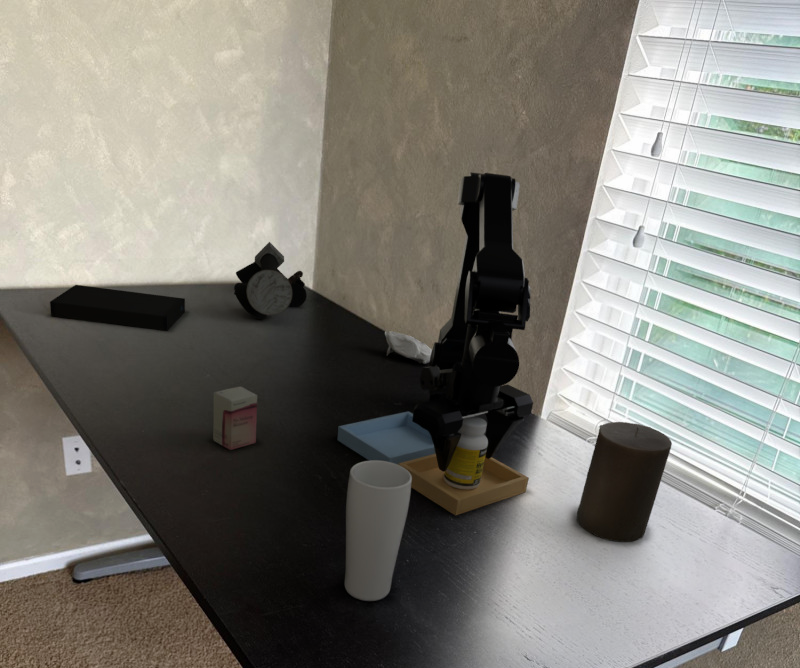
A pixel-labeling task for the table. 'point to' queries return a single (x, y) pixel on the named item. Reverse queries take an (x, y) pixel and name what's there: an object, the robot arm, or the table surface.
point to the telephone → (268, 285)
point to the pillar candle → (623, 480)
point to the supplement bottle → (468, 455)
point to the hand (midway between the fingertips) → (465, 463)
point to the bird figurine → (408, 347)
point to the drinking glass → (374, 526)
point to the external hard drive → (118, 307)
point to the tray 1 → (388, 438)
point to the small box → (234, 417)
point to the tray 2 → (492, 488)
